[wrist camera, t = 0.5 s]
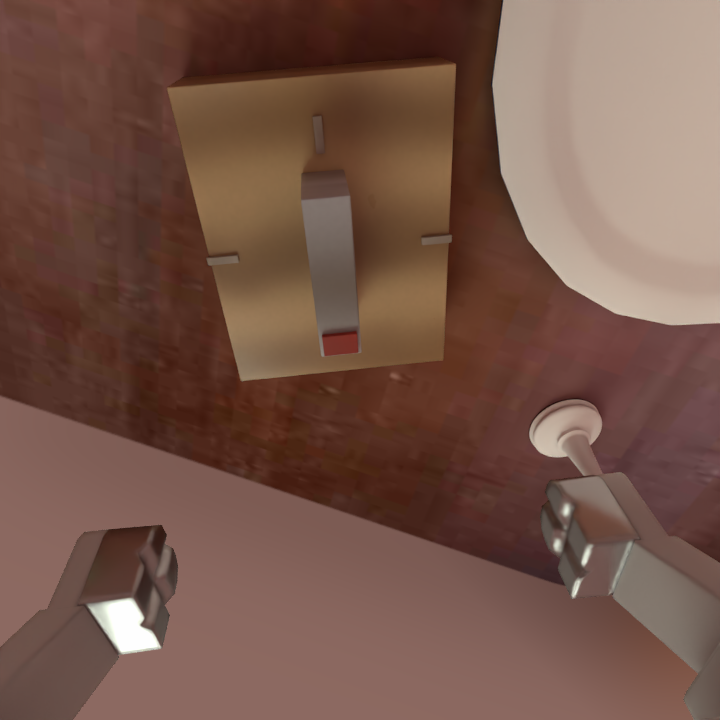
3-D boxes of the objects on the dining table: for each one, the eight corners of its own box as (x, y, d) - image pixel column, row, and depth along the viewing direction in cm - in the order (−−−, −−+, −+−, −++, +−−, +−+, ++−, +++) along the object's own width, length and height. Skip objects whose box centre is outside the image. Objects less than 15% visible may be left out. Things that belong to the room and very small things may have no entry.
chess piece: (514, 434, 36) (576, 562, 27) (567, 387, 34) (652, 511, 25) (559, 459, 38) (630, 586, 29) (613, 417, 35) (705, 540, 27)
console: (179, 77, 21) (162, 88, 19) (441, 56, 22) (460, 63, 19) (243, 350, 30) (238, 383, 27) (434, 330, 30) (446, 362, 27)
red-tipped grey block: (300, 172, 21) (300, 201, 18) (343, 168, 21) (350, 197, 18) (319, 317, 25) (321, 360, 22) (355, 313, 25) (362, 356, 22)
